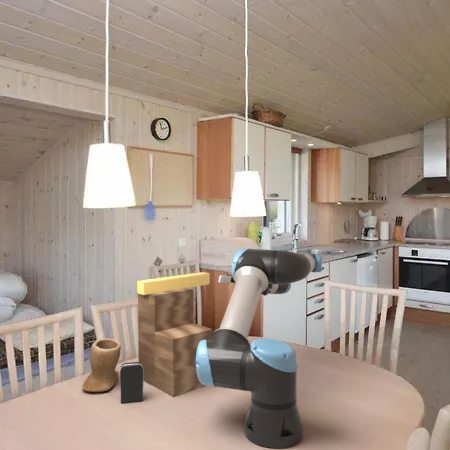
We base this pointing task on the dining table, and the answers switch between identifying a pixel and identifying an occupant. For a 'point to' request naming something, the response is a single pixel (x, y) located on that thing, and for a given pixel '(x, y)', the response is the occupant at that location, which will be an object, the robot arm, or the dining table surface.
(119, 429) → the dining table surface
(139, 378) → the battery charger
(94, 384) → the brown boot
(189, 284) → the bar
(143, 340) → the step shelf
